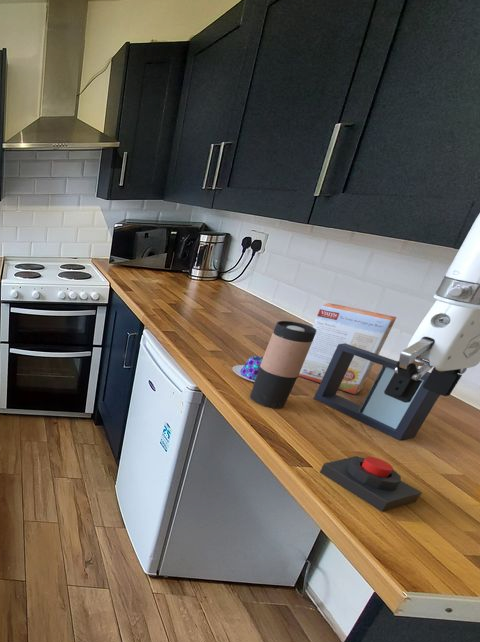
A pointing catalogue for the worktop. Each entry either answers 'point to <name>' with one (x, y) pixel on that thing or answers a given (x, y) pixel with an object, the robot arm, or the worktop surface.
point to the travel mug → (282, 363)
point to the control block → (370, 484)
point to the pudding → (249, 368)
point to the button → (377, 467)
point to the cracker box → (345, 328)
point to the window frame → (376, 396)
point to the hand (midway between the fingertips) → (415, 395)
